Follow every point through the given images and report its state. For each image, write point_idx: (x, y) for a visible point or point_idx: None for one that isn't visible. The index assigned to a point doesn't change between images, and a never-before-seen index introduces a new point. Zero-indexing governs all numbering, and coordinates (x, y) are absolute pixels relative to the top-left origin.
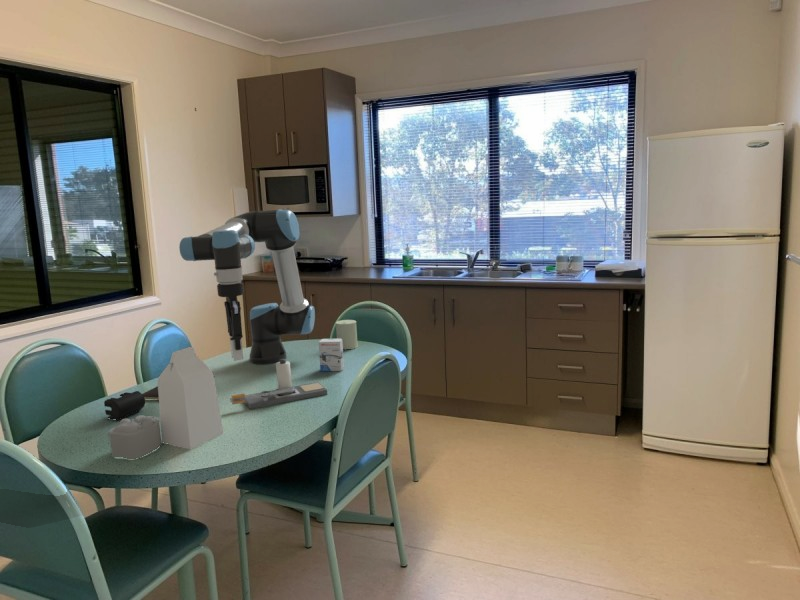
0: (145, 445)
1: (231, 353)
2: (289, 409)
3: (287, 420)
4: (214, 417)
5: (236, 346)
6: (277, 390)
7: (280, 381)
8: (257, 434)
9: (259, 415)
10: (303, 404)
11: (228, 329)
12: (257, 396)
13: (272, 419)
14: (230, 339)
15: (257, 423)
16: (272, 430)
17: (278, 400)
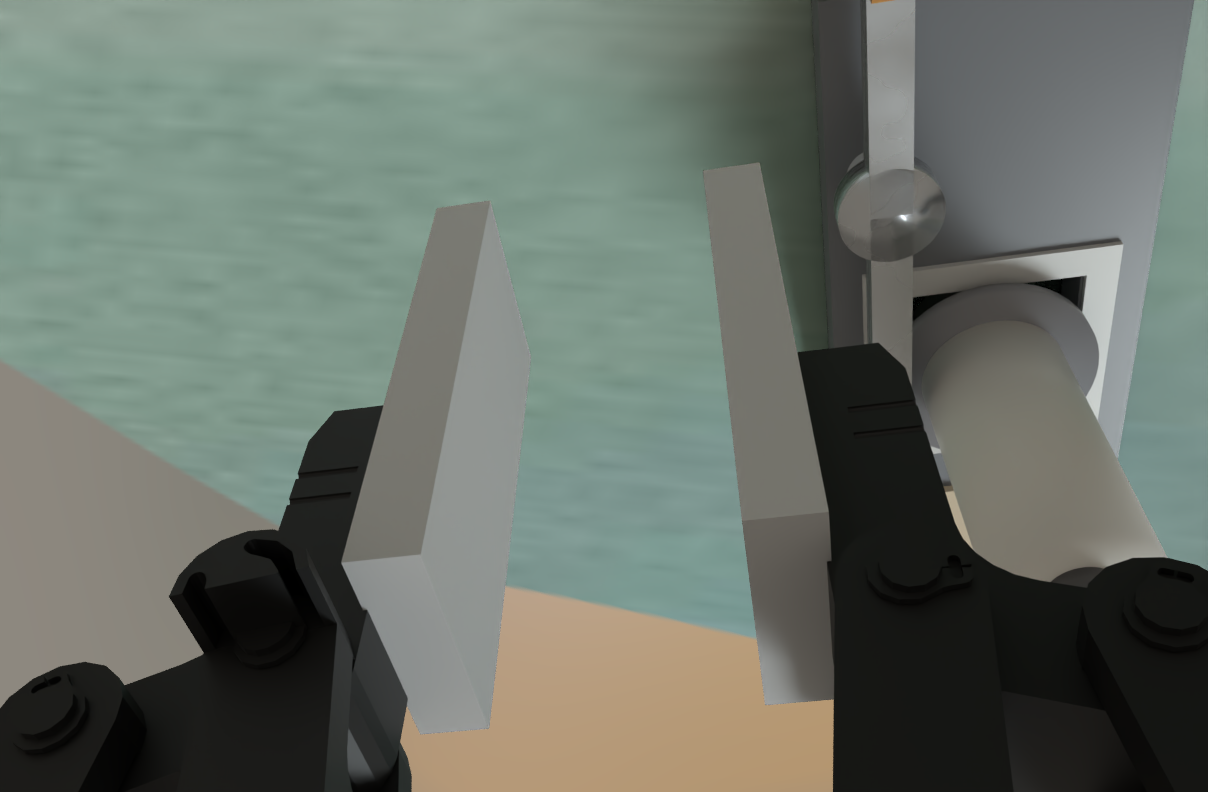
0: None
1: (758, 213)
2: (620, 326)
3: (347, 289)
4: None
5: (296, 495)
6: (886, 333)
7: (971, 413)
8: (45, 25)
9: (570, 70)
10: (694, 430)
11: (1134, 695)
12: (865, 126)
13: (412, 178)
14: (239, 552)
15: (343, 40)
16: (129, 159)
17: (827, 279)
